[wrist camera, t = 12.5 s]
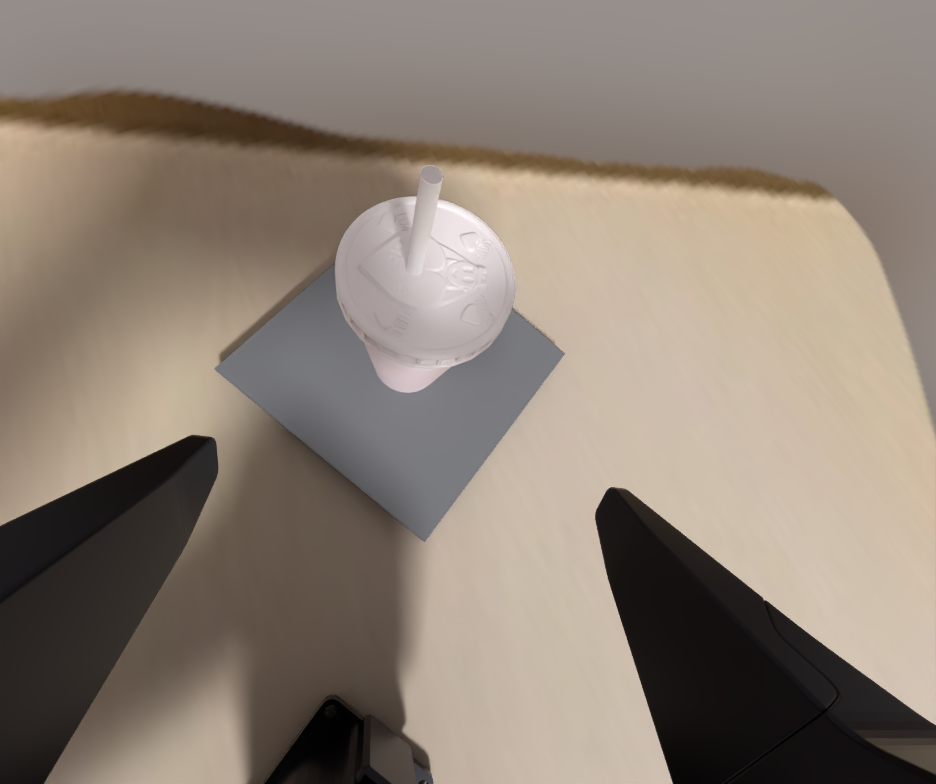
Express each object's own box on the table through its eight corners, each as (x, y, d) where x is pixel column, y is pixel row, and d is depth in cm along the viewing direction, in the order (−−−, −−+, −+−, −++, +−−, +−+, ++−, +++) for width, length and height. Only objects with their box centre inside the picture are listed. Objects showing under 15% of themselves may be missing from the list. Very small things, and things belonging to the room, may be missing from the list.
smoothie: (351, 305, 23) (324, 48, 10) (461, 314, 24) (565, 100, 11) (345, 415, 21) (303, 284, 8) (462, 417, 23) (586, 310, 10)
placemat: (422, 540, 22) (424, 542, 21) (221, 374, 22) (214, 368, 21) (558, 358, 26) (565, 353, 25) (393, 221, 26) (394, 210, 25)
